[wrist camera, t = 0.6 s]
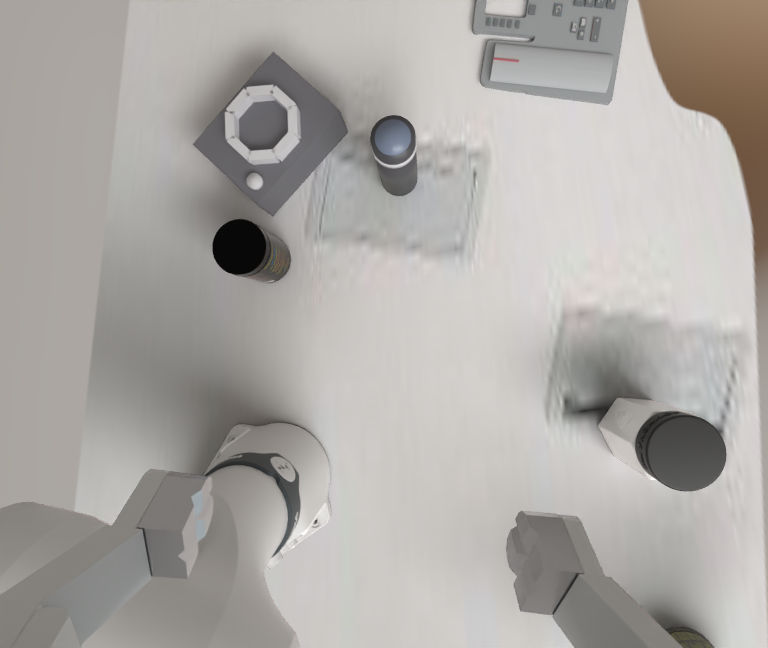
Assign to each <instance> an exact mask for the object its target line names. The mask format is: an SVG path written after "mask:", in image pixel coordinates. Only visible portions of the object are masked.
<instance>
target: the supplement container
mask: <svg viewBox="0 0 768 648" xmlns="http://www.w3.org/2000/svg"><path fill="white" fill-rule="evenodd" d="M213 255H214V258H215V260H216V262H217V264H218V265H219V266H220V267H221V268H222V269H223V270H224V271H226V272H228V273H231V274H234V275H236V276H241V277H245V278H249V279H252V280H256V281H259V282H263V283H273V282H276V281H278V280H280V279H281V278H282V277H284V275H285V274H286V273H287V271H288V269H289V267H290V262H291V257H290V252H289V250H288V248H287V246H286V245H285V244H284V243H283V242H282V241H281V240H279V239H278V238H276V237H275V236H273V235H271V234H270V233H268V232H266V231H265V230H263V229H262V228H261V227H259V226H258V225H256V224H254V223H252V222H250V221H248V220H243V219H237V220H232V221H229V222H227V223H226V224H224V225H223V226H222V227H221V228H220V229H219V230H218V231H217V233H216V235H215V237H214V240H213Z"/></svg>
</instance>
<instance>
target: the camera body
mask: <svg viewBox="0 0 768 648" xmlns="http://www.w3.org/2000/svg"><path fill="white" fill-rule="evenodd" d="M347 132H348V131H347V128H346V126H345V123H344V121H343V118H342V116H341V113H340V111H339V110H338V109H337V108H336V107H335V106H334V105H332V104H331V103H330V102H329V101H328V100H327V99H326V98H325V97H323V96H322V95H321V94H320V93H319V92H318V91H317V90H316V89H315V88H313V87H312V86H311V85H310V84H309V83H308V82H307V81H306V80H304V79H303V78H302V77H301V76H300V75H299V74H298V73H297V72H295V71H294V70H293V69H292V68H291V67H290V66H289V65H288V64H287V63H285V62H284V61H283V60H282V59H281V58H280V57H279V56H278V55H276V54H275V53H274V52H273V53H272V54H271V55H270V56H269V57H268V58H267V60H266V61H265V62H264V63H263V64H262V65H261V66H260V68H259V69H258V70H257V71H256V72H255V73H254V75H253V76H252V77H251V78H250V79H249V80H248V81H247V83H246V84H245V85H244V86H243V87H242V88H241V90H240V91H239V92H238V93H237V94H236V95H235V96H234V98H233V99H232V100H231V101H230V102H229V103H228V105H227V106H226V107H225V108H224V109H223V110H222V111H221V113H220V114H219V115H218V116H217V117H216V118H215V120H214V121H213V122H212V123H211V124H210V125H209V126H208V128H207V129H206V130H205V131H204V132H203V133H202V135H201V136H200V137H199V138H198V139H197V140H196V141H195V143H194V144H193V145H194V146H195V147H196V148H197V149H198V150H199V151H200V152H201V153H203V154H204V155H205V156H206V157H207V158H208V159H209V160H210V161H211V162H212V163H213V164H214V165H215V166H217V167H218V168H219V169H220V170H221V171H222V172H223V173H224V174H225V175H226V176H227V177H228V178H229V179H230V180H232V181H233V182H234V183H235V184H236V185H237V186H238V187H239V188H240V189H241V190H242V191H243V192H244V193H245V194H247V195H248V196H249V197H250V198H251V199H252V200H253V201H254V202H255V203H256V204H257V205H259V206H260V207H261V208H263V209H264V210H265V211H267V212H268V213H269V214H271V215H272V216H274V214H275V213H276V212H277V211H278V210H279V209H280V208H281V207H282V205H283V204H284V203H285V202H286V201H287V200H288V199H289V198H290V196H291V195H292V194H293V193H294V192H295V191H296V190H297V189H298V188H299V186H300V185H301V184H302V183H303V182H304V181H305V180H306V179H307V177H308V176H309V175H310V174H311V173H312V172H313V171H314V170H315V168H316V167H317V166H318V165H319V164H320V163H321V162H322V161H323V159H324V158H325V157H326V156H327V155H328V154H329V153H330V152H331V150H332V149H333V148H334V147H335V146H336V145H337V144H338V143H339V141H340V140H341V139H342V138H343V137H344V136H345V135H346V134H347Z"/></svg>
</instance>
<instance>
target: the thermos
mask: <svg viewBox="0 0 768 648" xmlns="http://www.w3.org/2000/svg"><path fill="white" fill-rule="evenodd" d="M666 632H668V633H669V634H670V635H671V636H672V637H673V638H674V639H675V640H676V641H677V642H678V643H679V644H680V645H681V646H682V647H683V648H714V647H713V646H712V644H711V643H710V642H709V641H708V640H707V639H706V638H705V637H704V636H703V635H701V634H699V633H698V632H696V631H694V630H691V629H687V628H682V627H681V628H671V629H668V630H666Z"/></svg>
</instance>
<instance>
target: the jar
mask: <svg viewBox="0 0 768 648" xmlns="http://www.w3.org/2000/svg"><path fill="white" fill-rule="evenodd" d="M598 427H599V429H600V431H601V433H602V434H603V436H604V438H605V440H606V442H607V444H608V446H609V448H610V450H611V452H612V454H613V456H615V457H616V458H617V459H619V460H620V461H622V462H623V463H625V464H626V465H628V466H629V467H631V468H632V469H634V470H635V471H637V472H638V473H640V474H641V475H643V476H644V477H646V478H647V479H649V480H658V481H659V482H661V483H662V484H664V485H666V486H667V487H670V488H672V489H675V490H679V491H695V490H699V489H702V488H705V487H707V486H708V485H710V484H711V483H713V482H714V481H715V480H716V479H717V478H718V477H719V475H720V474H721V472H722V470H723V468H724V466H725V462H726V447H725V443H724V441H723V438H722V436H721V435H720V433H719V432H718V430H717V429H716V428H715V427H714V426H713V425H712V424H710V423H709V422H707V421H706V420H704V419H702V418H699V417H697V416H696V414H695V413H692V412H689V411H686V410H683V409H680V408H676V407H673V406H670V405H667V404H663V403H660V402H657V401H654V400H645V399H631V398H617V399H616V400H615V401H614V403H613V404H612V406H611V407H610V409H609V410H608V412H607V413H606V414H605V416H604V417H603V419H602V420H601V422H600V423H599V425H598Z"/></svg>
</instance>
